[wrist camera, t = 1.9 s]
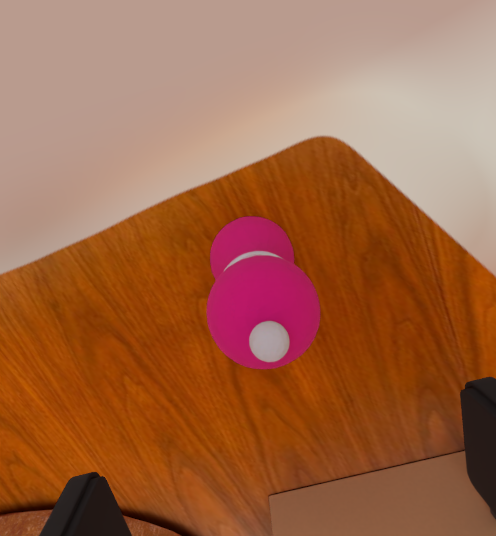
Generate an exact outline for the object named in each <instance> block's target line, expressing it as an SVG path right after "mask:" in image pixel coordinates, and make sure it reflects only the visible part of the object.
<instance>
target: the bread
mask: <svg viewBox="0 0 496 536" xmlns="http://www.w3.org/2000/svg"><path fill="white" fill-rule="evenodd" d="M51 512H52V510H39V511H26V512H16V513H9V514H4V515H0V536H39V535H40V533H41V531H42V529H43V527H44V525H45V523H46V522H47V520H48V518H49V516H50V514H51ZM123 517H124V519H125V521H126V523H127V525H128V528H129V530H130V532H131V534H132V536H181V535H179V534H177V533H175V532H173V531H171V530H168V529H165V528H162V527H159V526H156V525H153V524H151V523H148V522H145V521H141V520H137V519H134V518H130V517H126V516H123Z"/></svg>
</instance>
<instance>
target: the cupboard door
mask: <svg viewBox="0 0 496 536" xmlns="http://www.w3.org/2000/svg"><path fill="white" fill-rule="evenodd" d="M269 505H270V514H271V523H272V533H273V536H496V515H495V514H494V512H493V511H492V510H491V508H490V507H489V506H488V505H487V503H486V502H485V501H484V499H483V498H482V497H481V496H480V494H479V493H478V492H477V491H476V489H475V488H474V486H473V485H472V483H471V481H470V479H469V477H468V474H467V467H466V456H465V451H462V452H458V453H453V454H449V455H445V456H440V457H436V458H432V459H427V460H423V461H419V462H414V463H410V464H406V465H401V466H397V467H392V468H388V469H384V470H379V471H375V472H371V473H366V474H362V475H358V476H353V477H349V478H345V479H340V480H336V481H332V482H327V483H323V484H319V485H314V486H310V487H306V488H301V489H297V490H293V491H288V492H284V493H280V494H275V495H271V496H269Z"/></svg>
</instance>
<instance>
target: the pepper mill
mask: <svg viewBox="0 0 496 536" xmlns="http://www.w3.org/2000/svg"><path fill="white" fill-rule="evenodd" d="M210 263H211V269H212V273H213V275H214V277H215V279H216V282H215V283H214V285H213V286H212V289H211V292H210V294H209V297H208V302H207V321H208V326H209V330H210V332H211V335H212V337H213V339H214V341H215V342H216V344H217V345H218V347H219V348H220V349H221V351H222V352H223V353H224V354H225V355H226V356H228V357H229V358H231V359H232V360H233V361H235V362H236V363H238V364H241V365H243V366H246V367H249V368H255V369H271V368H277V367H280V366H283V365H286V364H288V363H290V362H292V361H294V360H295V359H296V358H298V357H299V356H301V355H302V354H303V353H304V352H305V351H306V350H307V349H308V348H309V347H310V345H311V343H312V341H313V340H314V338H315V336H316V333H317V330H318V327H319V322H320V305H319V299H318V295H317V293H316V290H315V288H314V286H313V284H312V282H311V281H310V279H309V278H308V277H307V275H306V274H305V273H304V272H303V271H302V270H301V269H300V268H298V267H297V266H296V265H294V253H293V248H292V245H291V242H290V240H289V238H288V236H287V235H286V233H285V232H284V231H283V230H282V228H281V227H279V226H278V225H277V224H276V223H274V222H272V221H270V220H268V219H265V218H262V217H255V216H247V217H241V218H238V219H236V220H234V221H232V222H230V223H229V224H227V225H226V226H225V227H223V228H222V229H221V230H220V232H219V233H218V234H217V236H216V237H215V239H214V242H213V244H212V248H211V252H210Z"/></svg>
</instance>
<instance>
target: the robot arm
mask: <svg viewBox="0 0 496 536" xmlns="http://www.w3.org/2000/svg"><path fill="white" fill-rule="evenodd" d="M460 397H461V409H462V420H463V432H464V444H465V456H466V467H467V474H468V477H469V479H470V481H471V483H472V485H473V486H474V488H475V489H476V491H477V492H478V493H479V494H480V496H481V497H482V498H483V499H484V501H485V502H486V503H487V505H488V506H489V507H490V508H491V510H492V511H493V512H494V514H495V515H496V379H495V378H493V377H487V378H482V379H478V380H474V381H470V382H467V383H466V385H465V389H464V390H461V392H460ZM39 536H132V534H131V532H130V530H129V528H128V525H127V523H126V521H125V519H124V517H123V515H122V512H121V510H120V508H119V506H118V504H117V502H116V500H115V497H114V495H113V493H112V491H111V489H110V487H109V484H108V482H107V480H106V479H105V477H103V476H102V477H100V476H99V474H98V473H97V472H92V473H88V474H83V475H79V476H75V477H72V478H71V479H70V480H69V481H68V483H67V485H66V486H65V488H64V490H63V492H62V494H61V496H60V497H59V499H58V501H57V503H56V505H55V507H54V509H53V510H52V512H51V514H50V516H49V518H48V520H47V522H46V523H45V525H44V527H43V529H42V531H41V533H40V535H39Z"/></svg>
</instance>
